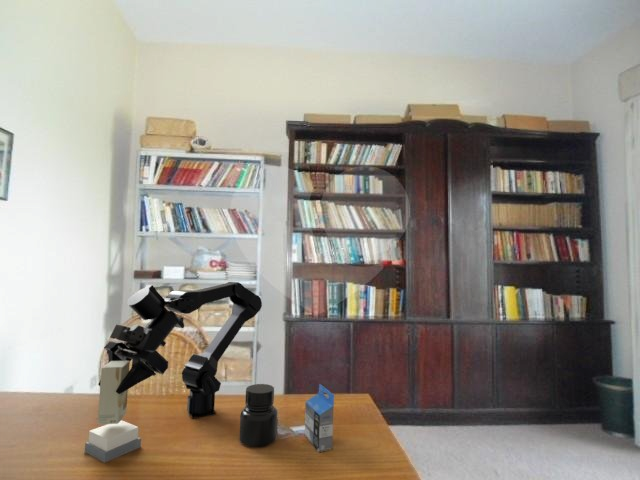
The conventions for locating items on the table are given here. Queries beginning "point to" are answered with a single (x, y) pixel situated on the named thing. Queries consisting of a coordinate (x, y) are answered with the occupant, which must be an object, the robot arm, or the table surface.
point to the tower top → (113, 435)
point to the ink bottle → (258, 417)
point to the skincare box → (112, 393)
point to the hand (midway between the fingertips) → (108, 389)
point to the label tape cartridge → (320, 419)
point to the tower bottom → (112, 450)
